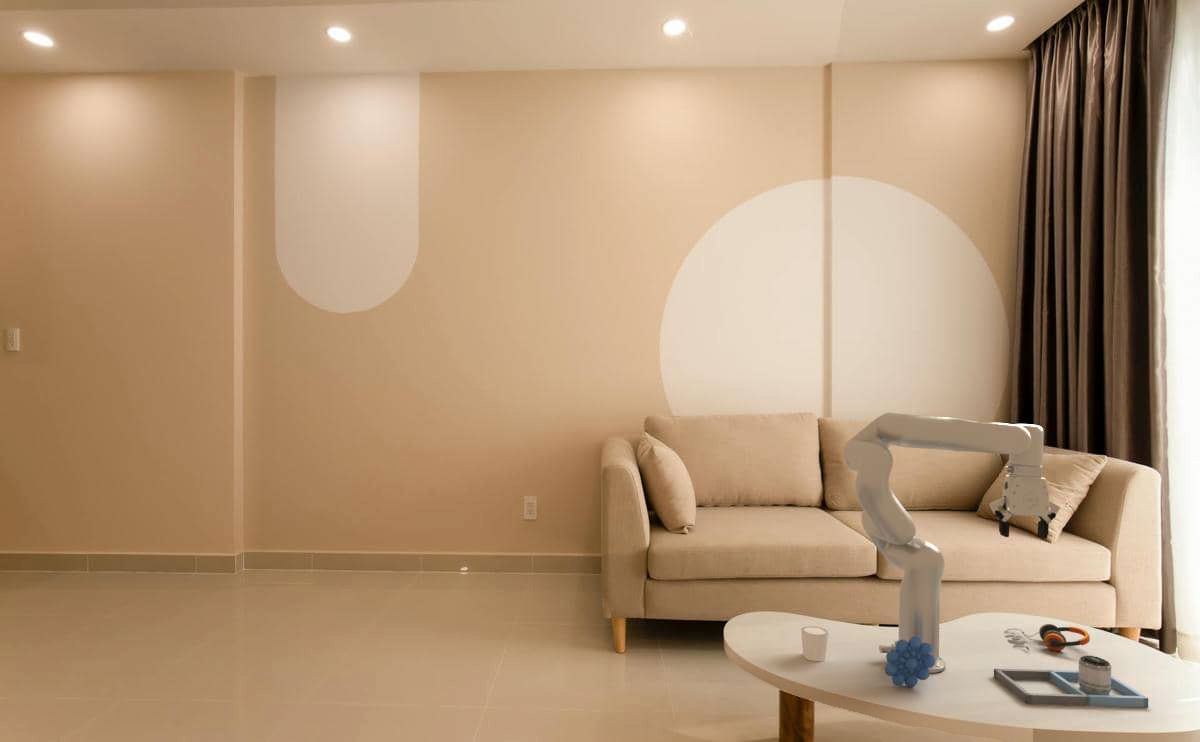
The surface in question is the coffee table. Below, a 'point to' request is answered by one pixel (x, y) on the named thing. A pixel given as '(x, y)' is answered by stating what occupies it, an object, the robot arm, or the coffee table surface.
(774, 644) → the coffee table surface
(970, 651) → the coffee table surface
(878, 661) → the coffee table surface
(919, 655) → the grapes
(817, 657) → the shot glass
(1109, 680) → the camera lens
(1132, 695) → the organizer
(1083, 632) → the headphones
